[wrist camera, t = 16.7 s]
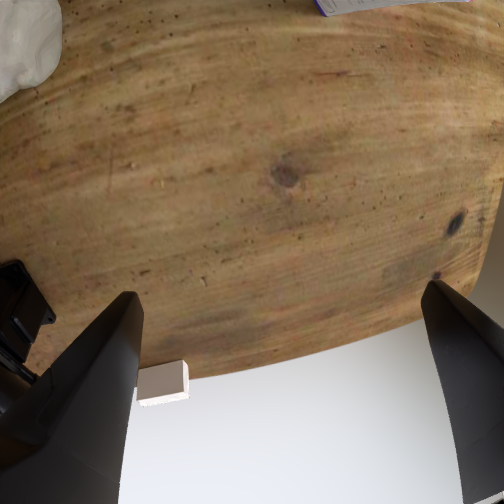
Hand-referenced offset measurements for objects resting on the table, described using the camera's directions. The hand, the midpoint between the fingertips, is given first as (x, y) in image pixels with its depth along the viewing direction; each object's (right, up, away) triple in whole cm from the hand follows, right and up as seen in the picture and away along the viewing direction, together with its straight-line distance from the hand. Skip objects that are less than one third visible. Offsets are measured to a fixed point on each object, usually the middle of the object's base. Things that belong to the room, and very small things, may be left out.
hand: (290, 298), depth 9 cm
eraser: (-10, -10, +20) cm, 24 cm away
